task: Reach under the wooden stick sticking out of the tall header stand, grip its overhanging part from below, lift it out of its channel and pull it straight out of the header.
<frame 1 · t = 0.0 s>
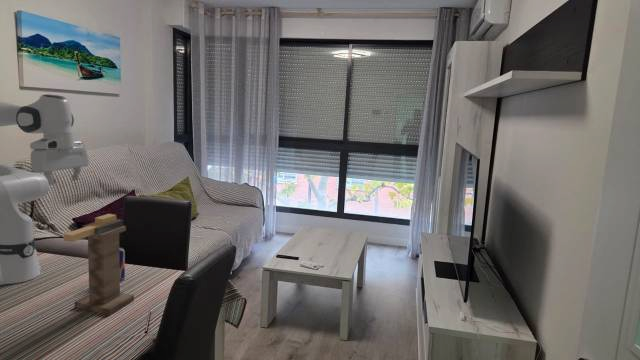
hand: (64, 182, 142), 39 cm above the table, tool pointing down, fingers open, 8 cm apart
wooden stick: (105, 228, 135), point 26 cm above the table, touching header stand
header stand: (105, 303, 138), on the table
energy drink: (117, 279, 157), on the table
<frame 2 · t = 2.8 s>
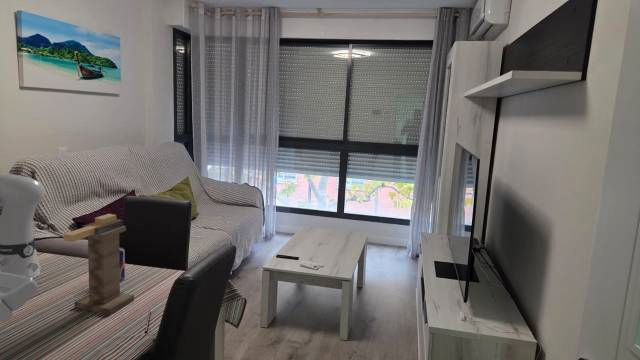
hand: (21, 261, 107), 25 cm above the table, tool pointing upward, fingers open, 8 cm apart
nothing on the table moved.
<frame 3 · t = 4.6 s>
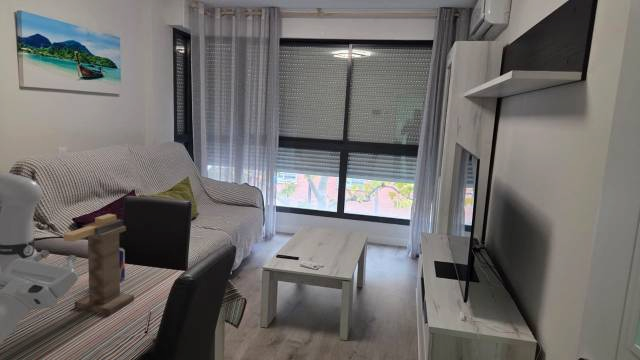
hand: (60, 254, 117), 24 cm above the table, tool pointing upward, fingers open, 8 cm apart
nothing on the table moved.
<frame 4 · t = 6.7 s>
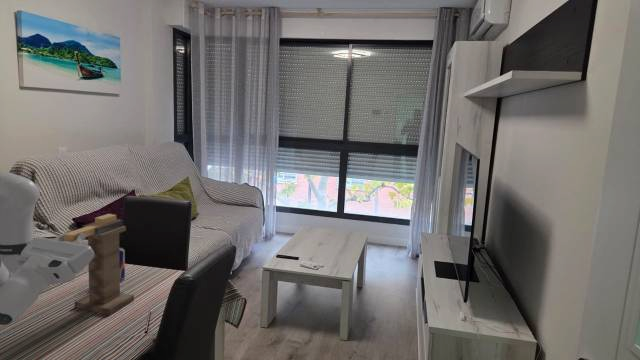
hand: (76, 233, 123), 28 cm above the table, tool pointing upward, fingers closed on wooden stick, 3 cm apart
wooden stick: (106, 228, 135), point 27 cm above the table, touching gripper, header stand
everything else where it was.
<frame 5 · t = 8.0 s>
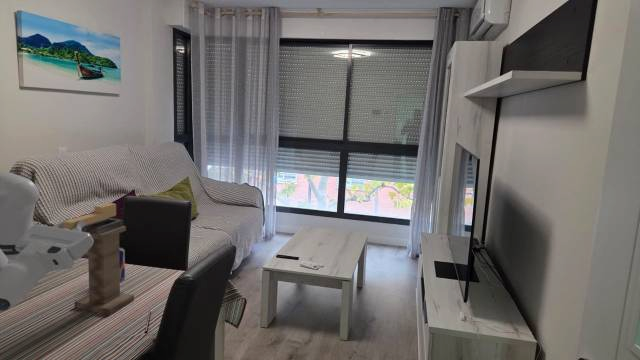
hand: (76, 221, 122), 32 cm above the table, tool pointing upward, fingers closed on wooden stick, 3 cm apart
wooden stick: (105, 216, 134), point 30 cm above the table, touching gripper
everything else where it was.
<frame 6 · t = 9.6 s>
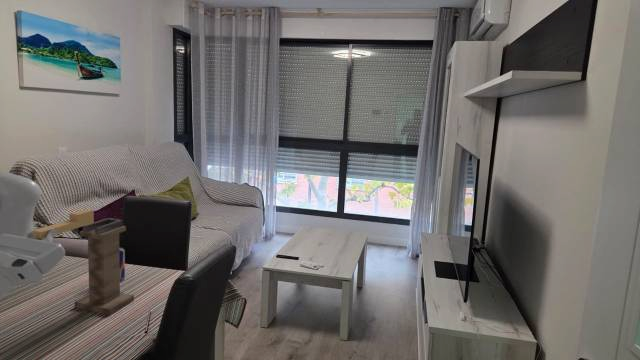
hand: (47, 230, 113), 32 cm above the table, tool pointing upward, fingers closed on wooden stick, 3 cm apart
wooden stick: (82, 224, 124), point 30 cm above the table, touching gripper
everything else where it was.
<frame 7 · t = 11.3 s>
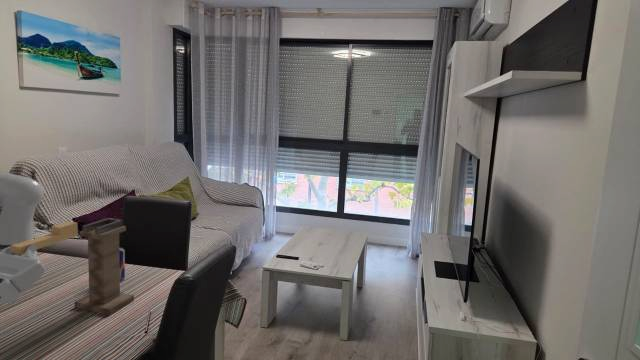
hand: (27, 244, 108), 29 cm above the table, tool pointing upward, fingers closed on wooden stick, 3 cm apart
wooden stick: (65, 237, 119), point 28 cm above the table, touching gripper
everything else where it was.
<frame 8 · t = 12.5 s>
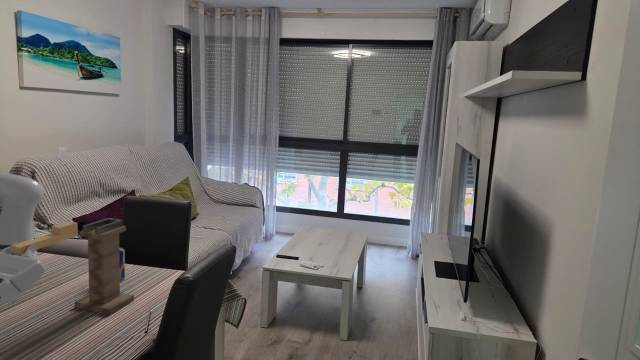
hand: (27, 244, 108), 29 cm above the table, tool pointing upward, fingers closed on wooden stick, 3 cm apart
wooden stick: (65, 237, 119), point 28 cm above the table, touching gripper
everything else where it was.
at the end: wooden stick touching gripper; wooden stick moved 16.0 cm from its start; the gripper is holding wooden stick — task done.
